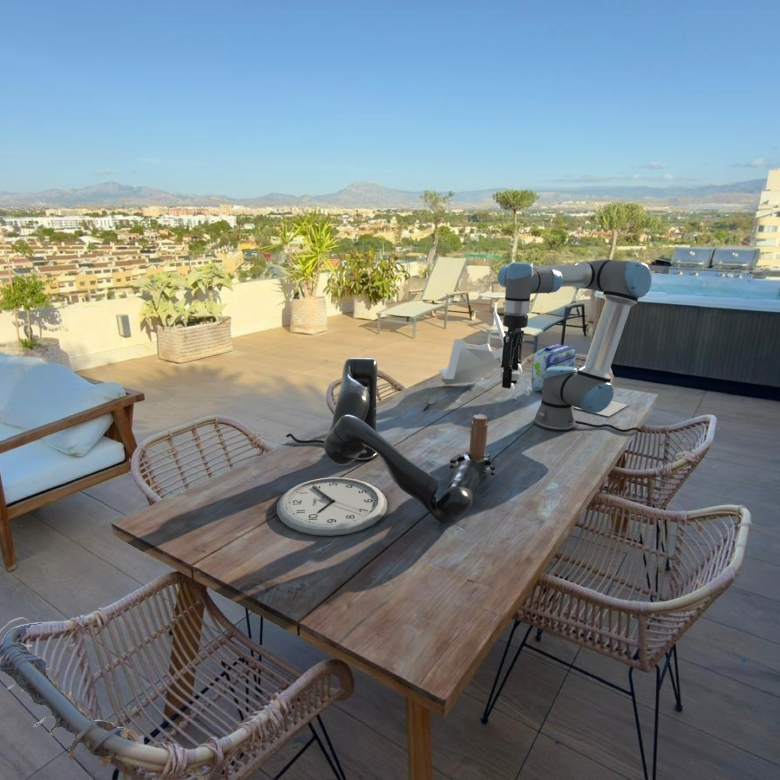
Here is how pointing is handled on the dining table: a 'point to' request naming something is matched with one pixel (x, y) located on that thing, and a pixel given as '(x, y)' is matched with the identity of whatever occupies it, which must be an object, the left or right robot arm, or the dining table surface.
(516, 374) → the lid
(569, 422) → the right robot arm
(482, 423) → the brown tube
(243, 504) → the dining table surface
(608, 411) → the invitation card
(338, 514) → the wall clock
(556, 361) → the lunch box
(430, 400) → the fork
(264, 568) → the dining table surface
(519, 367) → the white plastic object
